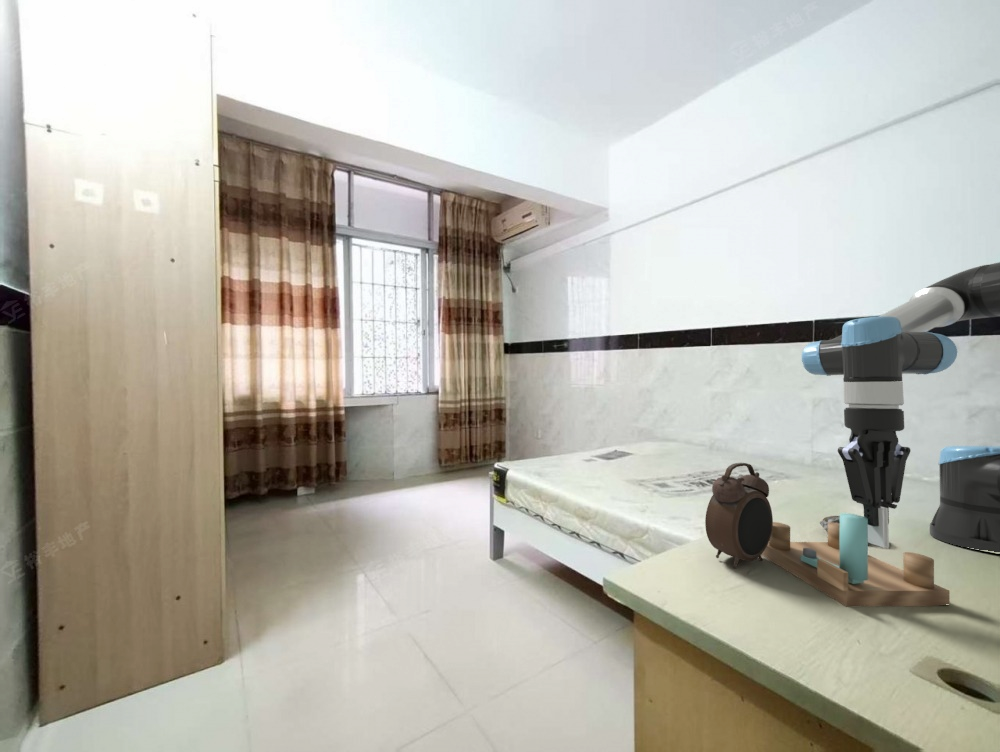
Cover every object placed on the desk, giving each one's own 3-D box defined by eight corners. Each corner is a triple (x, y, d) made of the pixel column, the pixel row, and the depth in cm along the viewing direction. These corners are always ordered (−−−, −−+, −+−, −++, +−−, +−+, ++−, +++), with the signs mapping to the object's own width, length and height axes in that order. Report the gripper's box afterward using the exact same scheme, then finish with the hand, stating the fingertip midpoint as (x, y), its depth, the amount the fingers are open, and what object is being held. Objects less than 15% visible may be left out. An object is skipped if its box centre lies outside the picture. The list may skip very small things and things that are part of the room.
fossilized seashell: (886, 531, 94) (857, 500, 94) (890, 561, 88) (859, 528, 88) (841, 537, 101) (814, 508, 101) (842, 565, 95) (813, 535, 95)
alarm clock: (737, 576, 74) (738, 469, 74) (701, 560, 80) (702, 462, 80) (780, 561, 80) (780, 464, 81) (744, 548, 87) (744, 458, 87)
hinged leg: (811, 558, 76) (812, 501, 76) (873, 585, 66) (873, 519, 66) (797, 560, 75) (797, 502, 75) (857, 587, 65) (857, 520, 65)
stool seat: (839, 553, 85) (839, 521, 85) (949, 605, 65) (949, 563, 65) (757, 553, 84) (757, 521, 84) (843, 606, 64) (843, 563, 64)
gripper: (876, 405, 73) (881, 534, 72) (821, 406, 70) (824, 538, 69) (928, 407, 65) (933, 550, 65) (867, 407, 63) (872, 556, 62)
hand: (877, 544), depth 67 cm, fingers closed
